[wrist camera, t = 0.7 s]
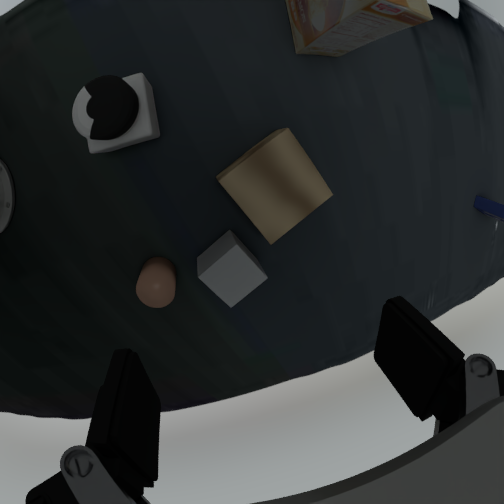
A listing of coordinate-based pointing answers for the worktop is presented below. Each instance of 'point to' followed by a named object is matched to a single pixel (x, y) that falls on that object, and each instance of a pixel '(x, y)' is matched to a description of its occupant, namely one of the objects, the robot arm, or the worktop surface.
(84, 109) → the medicine bottle
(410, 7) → the coffeecake box
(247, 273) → the grey cube
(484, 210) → the walkman
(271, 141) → the oak block
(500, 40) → the worktop surface
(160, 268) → the terracotta cylinder
